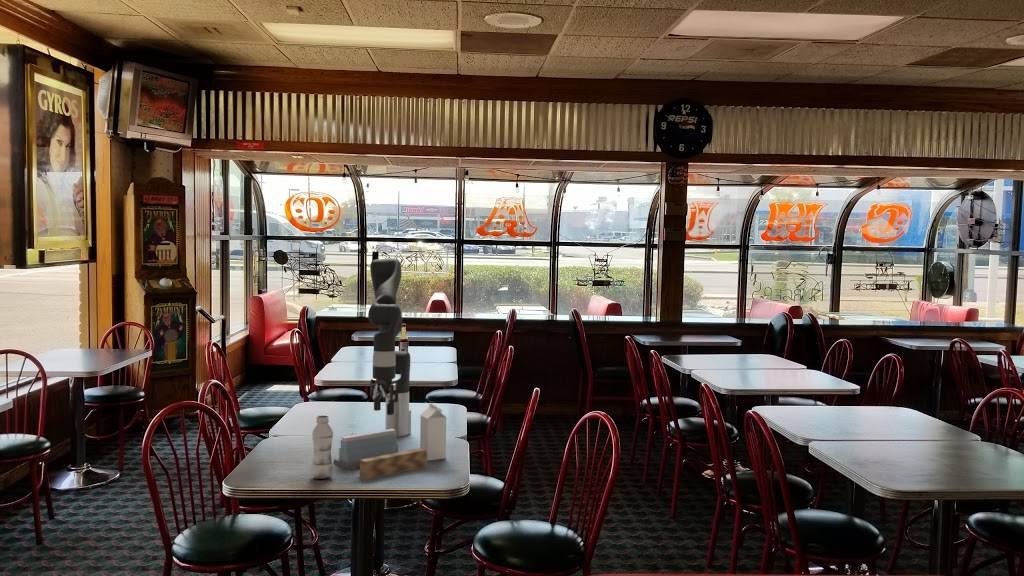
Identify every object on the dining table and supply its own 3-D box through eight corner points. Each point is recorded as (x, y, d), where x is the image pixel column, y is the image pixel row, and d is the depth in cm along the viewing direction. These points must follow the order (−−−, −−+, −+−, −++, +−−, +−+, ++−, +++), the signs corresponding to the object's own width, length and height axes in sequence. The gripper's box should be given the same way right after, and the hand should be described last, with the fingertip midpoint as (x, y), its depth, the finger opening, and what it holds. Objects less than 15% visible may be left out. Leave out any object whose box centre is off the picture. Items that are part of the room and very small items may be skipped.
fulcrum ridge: (388, 452, 283) (388, 426, 283) (403, 458, 276) (404, 431, 275) (333, 463, 269) (333, 435, 268) (348, 469, 261) (348, 441, 261)
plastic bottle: (313, 475, 255) (313, 414, 254) (334, 474, 255) (334, 414, 254) (309, 481, 248) (309, 419, 247) (331, 481, 249) (331, 419, 248)
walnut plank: (421, 465, 269) (421, 447, 269) (426, 467, 267) (426, 449, 267) (359, 477, 254) (359, 459, 253) (364, 480, 251) (364, 461, 251)
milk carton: (427, 461, 273) (427, 407, 272) (419, 456, 279) (420, 403, 278) (446, 459, 276) (446, 405, 275) (438, 454, 283) (439, 402, 281)
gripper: (405, 365, 256) (404, 414, 257) (383, 360, 267) (382, 407, 268) (385, 367, 252) (384, 417, 252) (363, 362, 263) (363, 410, 263)
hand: (383, 412), depth 260 cm, fingers open, 8 cm apart
